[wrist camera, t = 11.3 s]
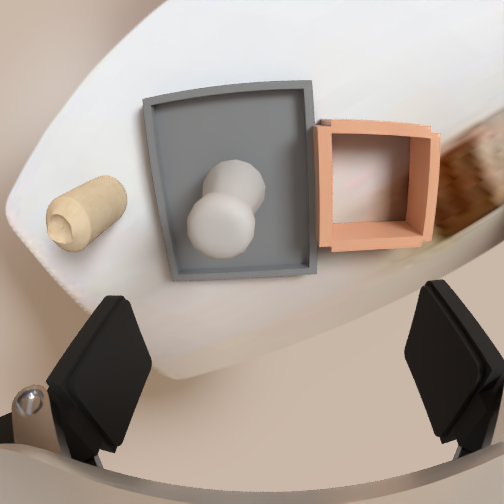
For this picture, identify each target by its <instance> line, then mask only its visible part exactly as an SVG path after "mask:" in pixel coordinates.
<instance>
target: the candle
mask: <svg viewBox="0 0 504 504" xmlns="http://www.w3.org/2000/svg"><path fill="white" fill-rule="evenodd" d="M126 206H127V195H126V192H125V189H124V187H123V186H122V184H121V183H120V182H119V181H118V180H117V179H115V178H113V177H110V176H100V177H97V178H95V179H93V180H91V181H89V182H86V183H84V184H82V185H80V186H78V187H76V188H74V189H72V190H70V191H69V192H67V193H65V194H63V195H61V196H59V197H57V198H55V199H54V200H53V201H52V202H51V203H50V205H49V206H48V209H47V213H46V224H47V233H48V236H49V237H50V238H51V239H52V240H53V241H54V242H55V243H56V244H57V245H58V246H59V247H61V248H62V249H64V250H66V251H69V252H78V251H81V250H82V249H84V248H85V247H86V246H87V245H88V244H90V243H91V242H92V241H93V240H94V239H95V238H96V237H97V236H99V235H100V234H101V233H102V232H103V231H104V230H106V229H107V228H108V227H109V226H110V225H111V224H113V223H114V222H115V221H116V220H117V219H118V218H120V217H121V216H122V214H123V213H124V211H125V209H126Z"/></svg>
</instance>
